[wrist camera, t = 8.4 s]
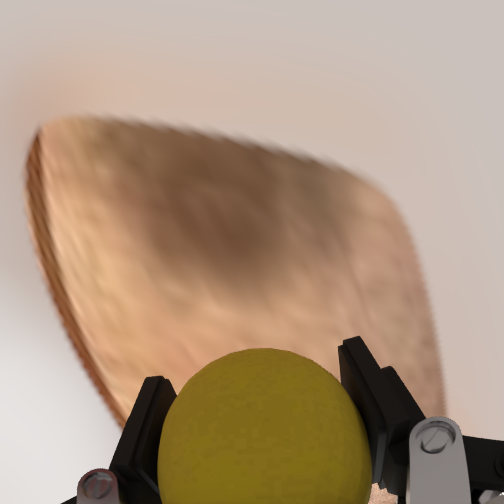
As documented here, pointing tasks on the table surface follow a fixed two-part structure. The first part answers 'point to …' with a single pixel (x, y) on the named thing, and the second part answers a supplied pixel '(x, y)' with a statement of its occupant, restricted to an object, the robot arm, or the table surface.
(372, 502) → the table surface
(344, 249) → the table surface
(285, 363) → the lemon
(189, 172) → the table surface
